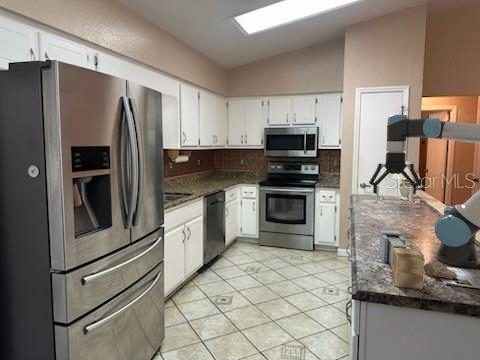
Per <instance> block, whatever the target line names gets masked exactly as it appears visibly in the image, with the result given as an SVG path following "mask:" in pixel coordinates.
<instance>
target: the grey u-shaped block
mask: <svg viewBox="0 0 480 360" xmlns="http://www.w3.org/2000/svg"><path fill="white" fill-rule="evenodd" d="M386 235H396V236H397V237H398V238H399V239H400V240H401V242H402V243H403V244H404V245H405V246H406V239H405V237H404V236H403V234H402V232H401V231H397V230H381V229H380V231H379V248H378V249H379V250H378V255H379V257H380V258H381V260H382V262H383V263H388V260H387V251H388V238H387V236H386Z"/></svg>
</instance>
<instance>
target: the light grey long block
mask: <svg viewBox="0 0 480 360" xmlns="http://www.w3.org/2000/svg"><path fill="white" fill-rule="evenodd" d="M386 236H387V238H388V251H387V263H389V265H390V267H391V268H392V263H393V248H404V249H407V246H406V244H405V245H404V244H403V243H402V242H401V240H400V239H399V238H398V237H397V236H396V235H386Z"/></svg>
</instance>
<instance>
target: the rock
mask: <svg viewBox="0 0 480 360" xmlns="http://www.w3.org/2000/svg"><path fill="white" fill-rule="evenodd" d="M424 273H426V275H427V276H430V277H437V278H446V279H450V280H453V279H454V278H458V275H457V273H456V272H455V271H454V270H451V269H449V268H448V267H447V266H445V265H444V264H443V262H441V261H439V260H436V261H429V262H427V263H424Z"/></svg>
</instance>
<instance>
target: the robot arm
mask: <svg viewBox="0 0 480 360" xmlns="http://www.w3.org/2000/svg"><path fill="white" fill-rule="evenodd" d="M407 138H427V139H437V140H444V141H445V140H446V141H452V142H453V141H455V142H461V143H462V142H463V143H470V144H478V145H480V123H479V124H478V123H470V122H469V123H468V122H457V121H444V120H441V119H440V118H438V117H427V118H414V119H413V118H411V119H410V118H408V115H407V114H391V115H389V116H388V118H387V125H386V148H385V149H386V153H385V163H380V162H378V163H377V167H376V169H375V170H374V171H375V172H374V173H373V174H372V177H371V178H370V180H369V182H368V183H369V185H370V186H373V187H372V190H373V191H372V192H373V194H375V199H374V200H375V202H379V200H380V199H379V195H380V194H379V193H380V187H379V184H380V183H381V182H382V181H383V180H384V179H385V178H386V177H387V176H389V174H391V175H395V174H396V175H400V174H401V175H402V176H403V177H404V178H405V180H407V182H408V183H409V184H410V185H411V186H409V195H408V196H409V198H408V199H409V200H408V202H409V203H414V195H416V194H417V187H419V186H421V185H422V182H421V181H420V178H419V176H418V174H417V172H416V170H415V166H414V163H411V162H410V163H406V151H407ZM383 168H385V169H386V170H384V172H383V173H382V174H381V175H380V176H379V177H378V175H379V174H380V172H381V169H383ZM406 168H407V169H408V170H409V172H410V173H411V176H412V177H413V179H414V181H413V179H412V177H410V176H409V174H408V173H407V172H406V171H405V169H406ZM479 232H480V189H478V191H476V192H475V193H474V194H473V195H471V197H470V198H468V199H467V200H466V201H465V202H464V203H463V204H462V203H461V204H455V205H454V206H450V205H448V206H445V207H444V210H443V216H442V217H440V218H438V220H437V221H436V222H435V225H434V234H435V237H436V238H437V239H438V240H439V241H440V244H439V246H438V248H437V250H436V253H435V254H436V255H435V259H436V260H437V261H438V262H440V263H444V264H446V265H452V266H455V267H456V266H457V267H462V268H475V267H477V266H479V264H480V262H479V261H480V259H479V255H478V253H477V248H476V236H477V233H479Z"/></svg>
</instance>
